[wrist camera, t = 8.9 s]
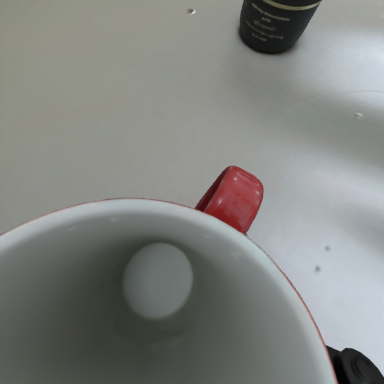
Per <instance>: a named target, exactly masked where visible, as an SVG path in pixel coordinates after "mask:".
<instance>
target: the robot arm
mask: <svg viewBox="0 0 384 384" xmlns="http://www.w3.org/2000/svg"><path fill="white" fill-rule="evenodd" d="M245 235H246V234H245ZM246 236H247V235H246ZM325 346H326V348H327V350H328V353H329V357H330V360H331V363H332V366H333V369H334V372H335V375H336V379H337V382H338V384H384V377H383V375H382V374H381V372H380V371H379V369H378V368H377V367H376V366H375V365H374V364H373V363H372V362H371V360H370V359H368V358H367V357H366V356H365V355H363V354H362V353H361V352H359V351H357V350H354V349H352V348H345V349H344V350H342V351H341V352H340V351H338V350H335V349H333V348H331V347H329V346H327V345H325Z"/></svg>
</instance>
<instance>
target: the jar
mask: <svg viewBox="0 0 384 384" xmlns="http://www.w3.org/2000/svg"><path fill="white" fill-rule="evenodd" d="M321 1H322V0H244V1H243V5H242V10H241V15H240V32H241V34H242V37H243V39H244V41H245V42H246V43H247V44H248V45H249V46H251V47H252V48H254V49H256V50H258V51H261V52H265V53H278V52H282V51H284V50H286V49H288V48H289V47H291V46H292V45H293V44H294V43H295V42H296V40H297V39H298V38H299V37H300V36H301V34H302V33H303V31H304V30H305V28H306V26H307V25H308V23H309V21H310V20H311V18H312V16H313V14H314V13H315V11H316V9H317V7H318V6H319V4H320V3H321Z"/></svg>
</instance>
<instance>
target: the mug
mask: <svg viewBox="0 0 384 384" xmlns="http://www.w3.org/2000/svg"><path fill="white" fill-rule="evenodd" d="M262 199H263V185H262V183H261V182H260V181H259V180H258V179H257V178H256V177H255V176H254V175H252V174H250V173H249V172H247V171H245V170H243V169H241V168H239V167H236V166H229V167H227V168H226V169H225V170H224V171H223V172H222V173H221V174H220V175H219V177H218V178H217V179H216V181H215V182H214V183H213V185H212V186H211V187H210V188H209V189H208V191H207V192H206V193H205V195H204V196H203V197H202V199H201V200H200V201H199V203H198V204H197V206H196V207H195V209H194V208H190V207H187V206H184V205H180V204H176V203H172V202H167V201H161V200H154V199H145V198H115V199H105V200H99V201H93V202H87V203H82V204H78V205H74V206H70V207H67V208H64V209H60V210H57V211H54V212H51V213H48V214H45V215H42V216H40V217H38V218H35V219H33V220H30V221H28V222H26V223H24V224H22V225H20V226H17V227H15V228H13V229H11V230H9V231H7V232H5V233H3V234H1V235H0V384H338V382H337V379H336V375H335V372H334V369H333V366H332V363H331V360H330V357H329V353H328V350H327V348H326V346H325V343H324V341H323V339H322V336H321V334H320V331H319V329H318V327H317V325H316V323H315V321H314V319H313V317H312V315H311V313H310V311H309V309H308V308H307V306H306V304H305V303H304V301H303V300H302V298H301V296H300V295H299V293H298V292H297V290H296V289H295V287H294V286H293V284H292V283H291V282H290V280H289V279H288V277H287V276H286V275H285V274H284V273H283V272H282V270H281V269H280V268H279V267H278V266H277V265H276V263H275V262H274V261H273V260H272V259H271V258H270V257H269V256H268V255H267V254H266V253H265V252H264V251H263V250H262V249H261V248H260V247H259V246H258V245H257V244H255V243H254V242H253V241H252V240H251V239H250V238H248V237H247V236H246V235H245V234H246V232H247V231H248V230H249V228H250V226H251V224H252V222H253V220H254V219H255V217H256V215H257V212H258V210H259V208H260V205H261V202H262Z"/></svg>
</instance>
